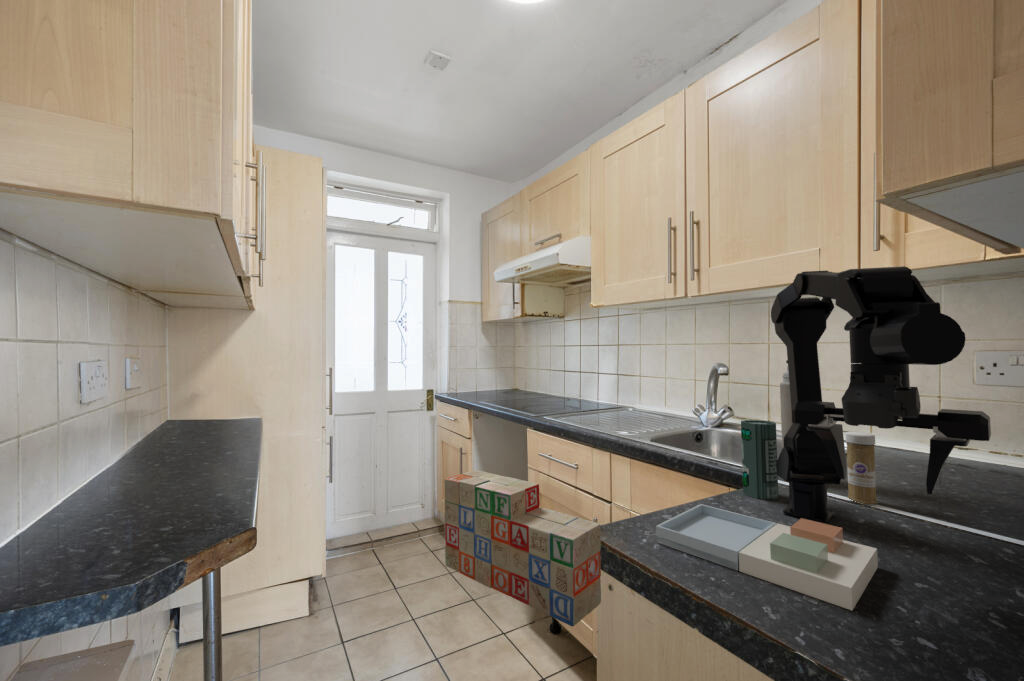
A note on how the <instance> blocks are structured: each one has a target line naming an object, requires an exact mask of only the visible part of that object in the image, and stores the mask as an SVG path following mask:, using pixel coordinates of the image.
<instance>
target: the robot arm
mask: <svg viewBox="0 0 1024 681" xmlns="http://www.w3.org/2000/svg"><path fill="white" fill-rule="evenodd" d="M792 281H793V282H792V283H790V284H789V285H787V287H785V288H784V289H782V290H781V291H780V292H778V293H777V294H776V296H775V299H774V301H773V304H772V306H771V309H770V319H771V322H772V323H773V324H774V331H775V334H776V336H777V337H778V338H779V339H780V340H781V341H782V343H783V344H784V345H785V347H786V355H787V360H788V363H787V366H788V370H789V383H790V395H791V408H792V422H793V424H792V426H791V427H790V429H789V430H788V432H787V433H786V435H785V437H784V447H783V448H782V449H781V451H780V453H779V456H778V457H777V462H776V469H777V475H778V478H781V479H782V480H783V481H784V482H785V483H788V494H789V495H788V496H789V497H788V498H789V506H787V507H786V508H784V509H783V510H782V513H783V514H784V515H789V516H794V517H796V518H797V517H798V518H800V519H801V518H803V519H807V520H811V521H815V522H819V523H824V524H827V522H828V521H830V520H831V518H832V517H834V516H835V511H834V510H833V511H832V510H829V509H828V508H829V507H828V506H829V504H828V486H827V485H828V484H829V485H830V484H831V485H840V484H841V481H842V480H845V479H847V455H846V449H845V438H844V437H845V436H844V429H843V424H839V423H838V422H844V423H845V424H846V425H848V426H853V427H858V426H870V427H878V428H879V429H886V430H887V429H893V428H896V427H901V428H902V427H903V428H912V429H913V428H914V429H924V430H925V429H926V430H932V432H933V434H934V435H933V436H932V437H931V438H930V439H929V455H928V464H927V473H926V480H925V484H926V486H925V487H926V494H928V495H932V494H933V492H934V491H935V488H936V485H937V482H938V480H939V478H940V475H941V473H942V470H943V468H944V465H945V463H946V461H947V459H948V457H949V456H950V454H951V452H952V451H953V449H954V448H955V447H967V446H968V445H969V443H970V441H978V442H979V441H980V442H989V441H990V439H991V436H992V432H991V430H992V429H991V417H990V415H987V413H985V411H982V410H966V409H965V410H964V409H963V410H962V409H950V408H942V409H940V410H938V411H937V414H933V413H921V398H920V397H921V396H920V392H919V388H918V386H910V384H911V383H910V365H923V366H925V365H927V366H929V365H930V366H936V365H937V366H938V365H944V364H947V363H950V362H951V361H953V360H954V359H956V358H957V357H959V355H960V354H961V353H962V351H963V349H964V348H965V344H966V332H965V331H963V329H962V326H961V325H960V324H959V323H958V322H957V321H956V320H955V319H954V318H952V317H951V316H949V315H946V314H945V313H942V311H941V303H940V302H938V301H935V300H934V299H933V298H932V297H931V296H930V295H929V294H928V293H927V291H926V290H925V288H924V287H923V285H922V284H921V282H920V280H919V279H918V278H917V277H916V276H915V275H914V274H913V270H911V269H910V267H909V266H908V267H907V266H889V267H886V266H884V267H868V268H867V267H866V268H863V267H862V268H849V269H846V270H843V271H840V272H834V271H829V270H812V271H811V270H809V271H801V272H799V273H797V274H796V275H795V276H794V279H793V280H792ZM807 295H808V296H814V297H802V296H807ZM820 298H821V299H820ZM833 300H835V302H833ZM834 303H835V304H834ZM835 306H837V307H838V308H840V309H842V311H845V312H847V313H848V314H849V315H850V316H851V317H852V318H851V319H850V320H849V321H847V322H846V323H845V325H844V327H843V330H844V331H846V332H849V350H850V351H849V353H850V355H849V356H850V372H849V373H850V376H849V384H848V387H847V389H846V390H845V392H844V394H843V395H842V397H841V407H836V405H835V402H834V401H833V402H831V401H823V395H822V386H821V385H822V384H821V371H820V363H819V361H820V360H819V352H818V343H819V341H820V339H821V337H822V336H823V334H824V333H825V331H826V330H827V320H828V319H829V317H830V315H831V314H832V312H833V310H834V308H835Z"/></svg>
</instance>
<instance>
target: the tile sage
mask: <svg viewBox="0 0 1024 681" xmlns="http://www.w3.org/2000/svg"><path fill="white" fill-rule="evenodd" d="M770 555H771V559H772V560H775V561H779V562H782V563H785V564H788V565H791V566H795V567H798V568H801V569H804V570H807V571H811V572H814V573H818V571H819V570H820V569H821V568H822V567H823V566H824V564H825V563H826V562H827V561H828V549H827V544H824V543H820V542H816V541H812V540H809V539H805V538H801V537H797V536H794V535H790V534H786V533H782V534H781V535H780V536H778V537H777V538H776V539H775V540H774V541H772V542H771V543H770Z"/></svg>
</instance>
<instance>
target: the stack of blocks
mask: <svg viewBox="0 0 1024 681" xmlns="http://www.w3.org/2000/svg"><path fill="white" fill-rule="evenodd" d="M443 482H444V528H445V529H444V530H445V531H444V536H445V537H444V538H445V546H444V553H445V554H444V555H445V556H444V557H445V566H446V567H447V568H450V569H452V570H453V571H456V572H458V573H459V574H461V575H463V576H465V577H466V578H468V579H471V580H473V581H475V582H477V583H479V584H481V585H483V586H485V587H487V588H489V589H493V590H494V591H497V592H499V593H501V594H504V595H506V596H508V597H511V598H512V599H515V600H516V601H519V603H520V602H521V603H523V604H525V605H527V606H529V607H530V608H533V609H534V610H537V611H539V612H541V613H543V614H545V615H547V616H550V617H551V618H554V620H557V621H560V622H561V623H564V624H565V625H568V626H570V627H572V628H573V627H575V626H576V625H577V624H578V623H580V622H581V621H582V620H583V619H584V618H586V617H587V616H588V615H590V614H591V613H592V612H593V611H594V610H595V609H597V607H599V606H600V604H601V602H602V586H601V585H602V584H601V582H602V581H601V576H602V569H601V568H602V567H601V564H602V563H601V562H602V561H601V549H602V542H601V541H602V539H601V537H602V536H601V535H602V532H601V523H599V522H595V521H591V520H588V519H585V518H579V517H578V516H575V515H571V514H568V513H567V514H566V513H565V512H559V511H557V510H552V509H549V508H544V507H540V504H541V503H540V502H541V501H540V484H539V483H538V482H537V483H536V482H532V481H528V480H523V479H519V478H514V477H510V476H503V475H500V474H495V473H492V472H491V473H490V472H488V471H487V472H486V471H484V470H479V469H475V470H470V471H467V472H463V473H460V474H457V475H456V474H455V475H452V476H449V477H446V478H444V481H443Z"/></svg>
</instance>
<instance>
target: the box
mask: <svg viewBox="0 0 1024 681" xmlns="http://www.w3.org/2000/svg"><path fill="white" fill-rule="evenodd" d="M776 524H777V523H776V522H774V521H770V520H766V519H763V518H762V519H761V518H757V517H754V516H750V515H746V514H742V513H738V512H733V511H730V510H726V509H723V508H718V507H714V506H711V505H706V504H703V503H699V504H697V505H696V506H694V507H691V508H689V509H687V510H686V511H683V512H682V513H679V514H677V515H675V516H673V517H670V518H669V519H668V520H664V521H663V522H661V523H659V524H657V525H656V526H655V536H656V537H655V541H656V542H655V543H658V544H660V545H662V546H666V547H669V548H671V549H675V550H677V551H681V552H682V553H685V554H688V555H691V556H695V557H698V558H701V559H702V560H703V559H704V560H706V561H707V562H708V561H709V562H712V563H714V564H717V565H720V566H723V567H725V568H728V569H731V570H734V571H739V552H740V551H741V550H743V549H744V548H745V547H747V546H748V545H749V544H751V543H752V542H753V541H755V540H756V539H757V538H759V537H760V536H761V535H763V534H764V533H765V532H767V531H768V530H769V529H771V528H772V527H773V526H775V525H776Z"/></svg>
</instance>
